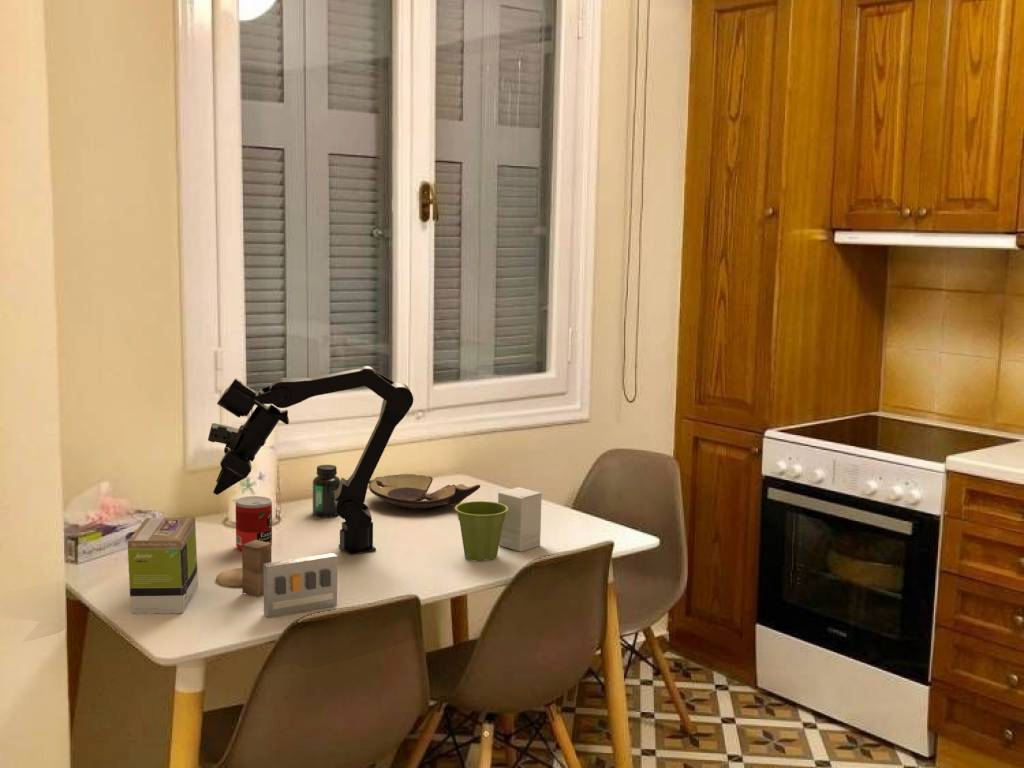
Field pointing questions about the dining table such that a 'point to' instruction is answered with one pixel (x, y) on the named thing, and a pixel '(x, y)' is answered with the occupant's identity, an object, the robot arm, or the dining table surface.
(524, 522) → the supplement box
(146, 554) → the tea box
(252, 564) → the walnut block
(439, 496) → the broken bowl
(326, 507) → the supplement bottle
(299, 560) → the breaker panel
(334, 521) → the dining table surface
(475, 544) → the plant pot
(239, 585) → the coaster
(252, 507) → the canned food
